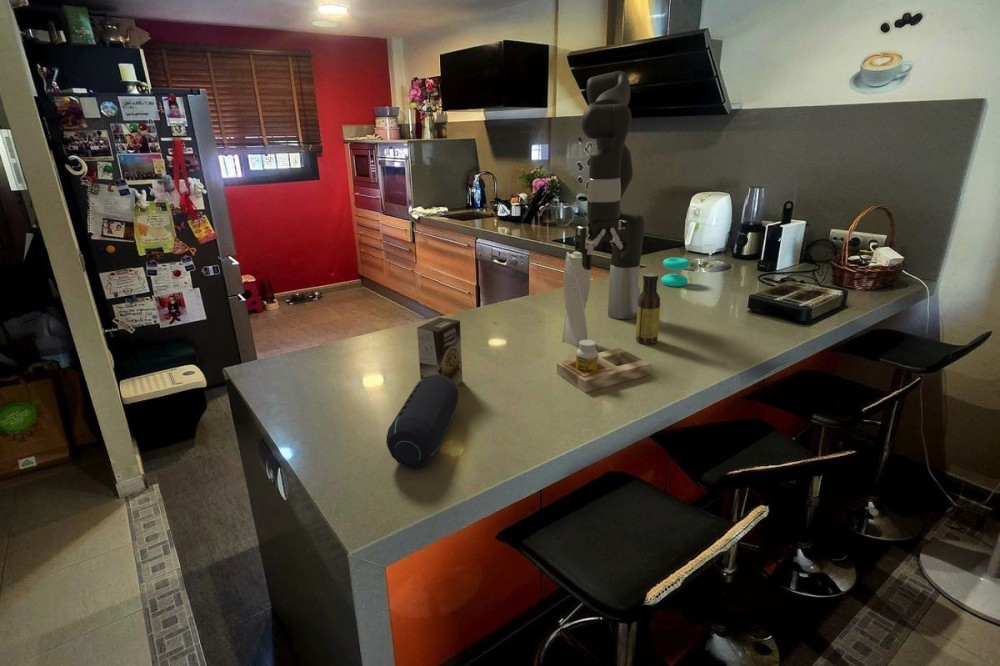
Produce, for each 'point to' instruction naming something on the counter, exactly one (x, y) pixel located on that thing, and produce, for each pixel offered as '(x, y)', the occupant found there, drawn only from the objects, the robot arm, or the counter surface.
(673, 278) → the donuts
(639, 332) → the sauce bottle
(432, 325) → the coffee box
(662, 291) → the counter surface
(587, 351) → the supplement bottle
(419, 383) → the portable speaker
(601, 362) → the cup caddy
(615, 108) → the robot arm
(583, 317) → the skyscraper
